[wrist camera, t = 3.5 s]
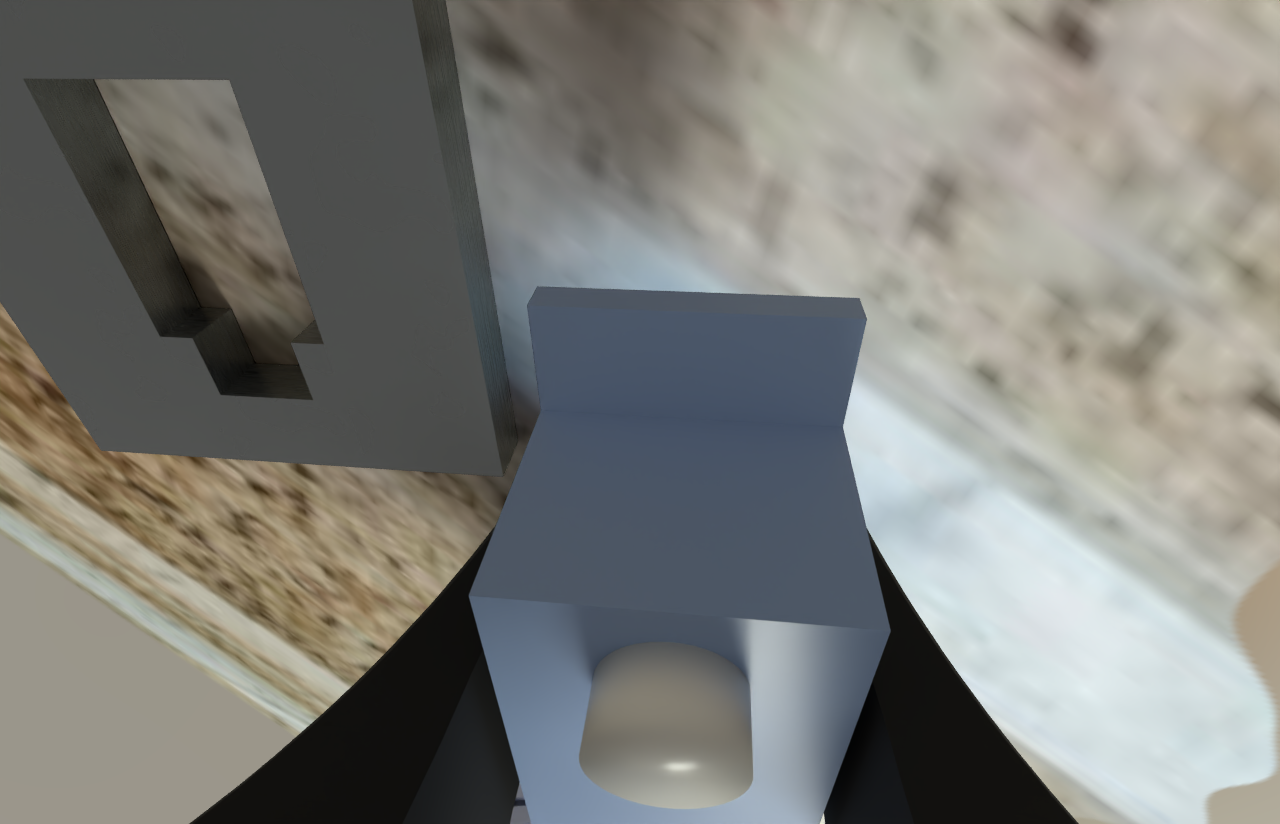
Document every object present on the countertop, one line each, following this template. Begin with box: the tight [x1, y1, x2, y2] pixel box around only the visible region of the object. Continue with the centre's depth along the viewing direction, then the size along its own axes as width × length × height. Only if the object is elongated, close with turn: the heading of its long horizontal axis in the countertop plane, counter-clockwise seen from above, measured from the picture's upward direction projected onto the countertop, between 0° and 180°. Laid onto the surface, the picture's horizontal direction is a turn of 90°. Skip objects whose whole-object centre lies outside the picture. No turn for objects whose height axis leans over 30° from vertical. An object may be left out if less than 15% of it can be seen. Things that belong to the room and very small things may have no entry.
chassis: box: [0, 0, 518, 477], centre depth 17 cm, size 16×14×2 cm
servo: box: [469, 287, 891, 824], centre depth 9 cm, size 9×4×6 cm, turn 1°
